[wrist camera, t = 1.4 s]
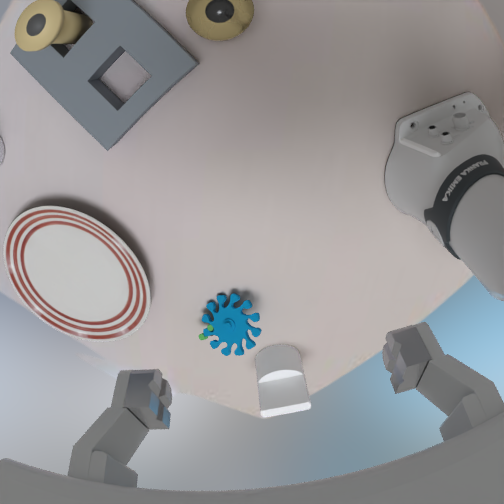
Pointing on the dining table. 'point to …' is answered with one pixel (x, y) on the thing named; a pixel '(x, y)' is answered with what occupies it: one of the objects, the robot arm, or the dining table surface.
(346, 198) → the dining table surface
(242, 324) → the gear
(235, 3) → the bushing
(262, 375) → the white toy chair
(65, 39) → the jig
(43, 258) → the dinner plate
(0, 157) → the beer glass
